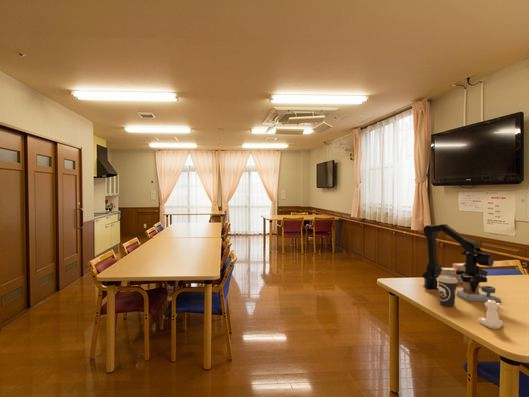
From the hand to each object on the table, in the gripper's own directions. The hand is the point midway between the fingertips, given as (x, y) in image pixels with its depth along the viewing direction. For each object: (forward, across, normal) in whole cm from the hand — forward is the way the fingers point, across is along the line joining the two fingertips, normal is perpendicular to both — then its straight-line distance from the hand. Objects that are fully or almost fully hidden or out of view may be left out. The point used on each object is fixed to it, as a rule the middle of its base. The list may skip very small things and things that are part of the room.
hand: (470, 290), depth 182 cm
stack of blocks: (+5, +34, -13) cm, 36 cm away
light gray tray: (+4, 0, -4) cm, 6 cm away
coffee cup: (+4, -11, +20) cm, 23 cm away
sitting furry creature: (+4, -39, +16) cm, 42 cm away
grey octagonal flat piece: (0, 0, -10) cm, 10 cm away
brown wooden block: (+1, 0, 0) cm, 1 cm away
